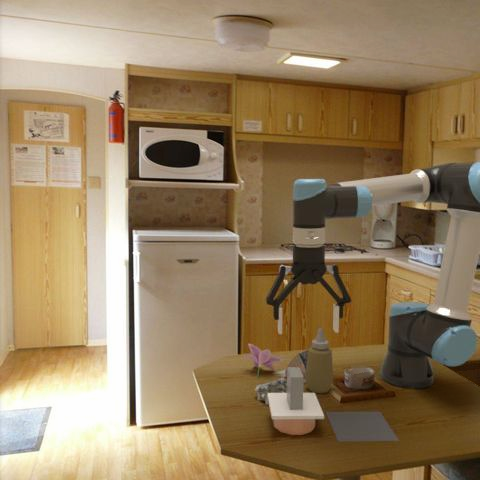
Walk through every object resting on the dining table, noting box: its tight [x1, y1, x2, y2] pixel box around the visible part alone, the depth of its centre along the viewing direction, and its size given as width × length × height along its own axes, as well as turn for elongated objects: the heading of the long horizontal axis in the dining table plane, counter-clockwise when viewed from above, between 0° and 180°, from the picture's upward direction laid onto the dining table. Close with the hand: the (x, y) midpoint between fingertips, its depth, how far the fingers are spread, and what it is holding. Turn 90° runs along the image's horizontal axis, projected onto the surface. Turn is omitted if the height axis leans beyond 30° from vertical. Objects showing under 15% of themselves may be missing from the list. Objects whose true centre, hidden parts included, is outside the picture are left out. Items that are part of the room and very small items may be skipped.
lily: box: [242, 343, 285, 379], centre depth 152 cm, size 12×12×10 cm
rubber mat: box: [325, 411, 400, 443], centre depth 121 cm, size 14×14×1 cm
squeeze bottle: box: [304, 327, 334, 394], centre depth 140 cm, size 8×8×18 cm
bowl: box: [272, 419, 316, 436], centre depth 121 cm, size 10×10×5 cm
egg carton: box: [254, 377, 287, 406], centre depth 137 cm, size 11×8×4 cm
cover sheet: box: [267, 366, 325, 420], centre depth 120 cm, size 12×12×9 cm
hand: (307, 331), depth 121 cm, fingers open, 13 cm apart
